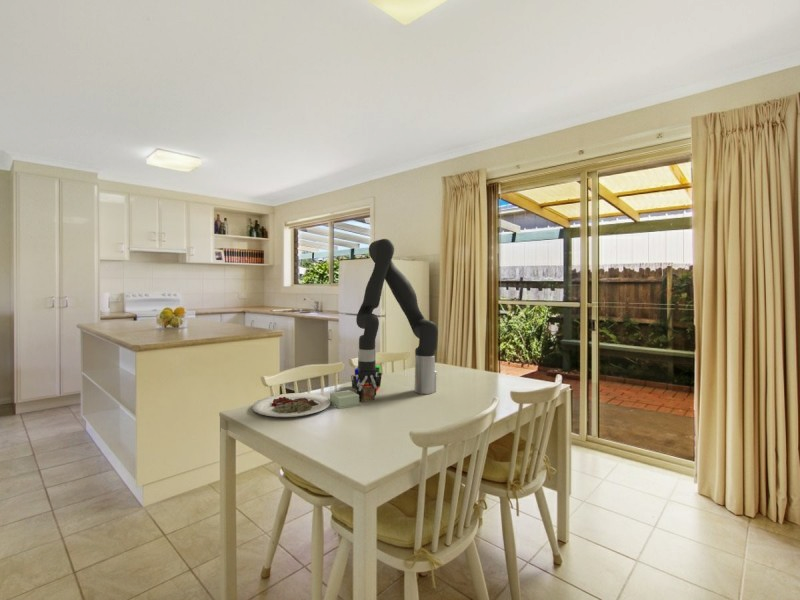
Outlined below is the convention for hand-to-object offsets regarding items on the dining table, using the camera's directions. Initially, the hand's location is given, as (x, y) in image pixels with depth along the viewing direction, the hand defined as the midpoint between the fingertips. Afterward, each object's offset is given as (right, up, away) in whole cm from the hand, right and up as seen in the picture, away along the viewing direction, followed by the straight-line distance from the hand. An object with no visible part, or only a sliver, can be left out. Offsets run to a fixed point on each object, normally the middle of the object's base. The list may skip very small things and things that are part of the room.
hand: (366, 397), depth 176 cm
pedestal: (-9, -1, -7) cm, 11 cm away
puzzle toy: (-1, 0, +17) cm, 18 cm away
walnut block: (0, -1, 0) cm, 1 cm away
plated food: (-29, -1, -13) cm, 31 cm away
